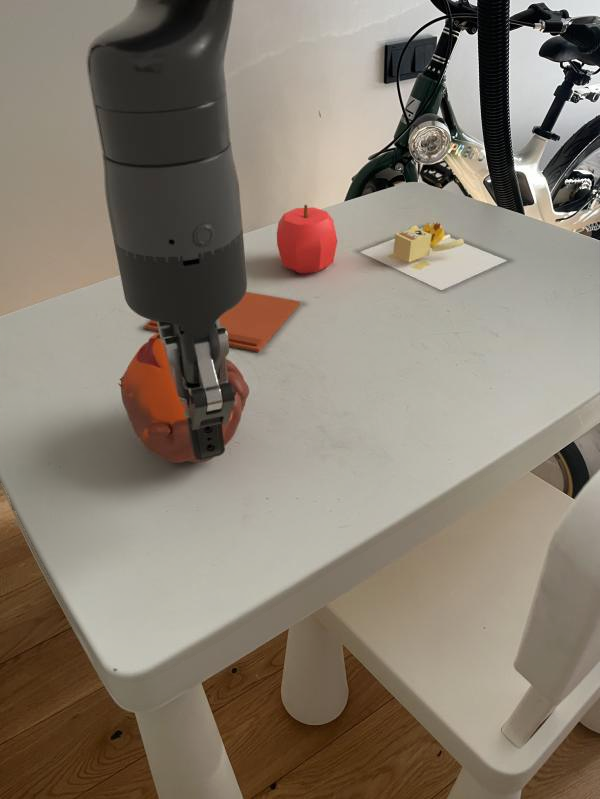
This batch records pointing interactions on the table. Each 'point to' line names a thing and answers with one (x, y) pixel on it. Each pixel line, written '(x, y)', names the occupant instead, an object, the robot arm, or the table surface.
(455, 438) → the table surface
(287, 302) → the book
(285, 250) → the apple
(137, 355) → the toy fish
